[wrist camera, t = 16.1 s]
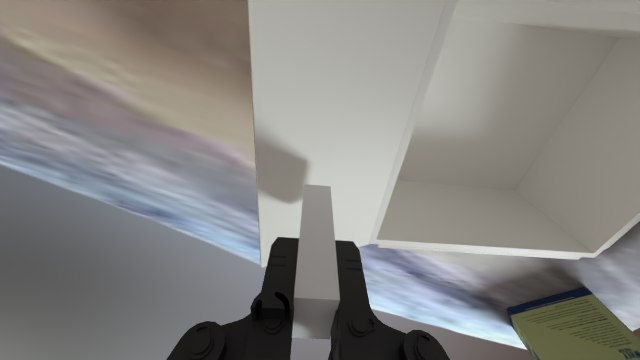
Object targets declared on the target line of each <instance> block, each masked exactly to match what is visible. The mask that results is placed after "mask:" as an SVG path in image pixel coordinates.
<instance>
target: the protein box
mask: <svg viewBox="0 0 640 360" xmlns="http://www.w3.org/2000/svg"><path fill="white" fill-rule="evenodd" d="M507 312H508V315H509V318H510V321H511V324H512V327H513V329H514V330H515V332H516V333H517V335H518V336H519V338H520V339H521V341H522V342H523V344H524V345H525V347H526V348H527V350H528V351H529V353H530V354H531V356H532V357H533V359H534V360H640V339H639V338H638V337H637V336H636V335H635V334H634V333H633V332H632V331H631V330H630V329H629V328H628V327H627V326H626V325H624V324H623V323H622V322H621V321H620V320H619V319H618V318H617V317H616V316H615V315H614V314H613V313H612V312H611V311H610V310H609V309H608V308H607V307H606V306H605V305H604V304H603V303H602V302H601V301H600V300H599V299H598V298H596V297H595V296H594V294H593V293H592V292H591V291H590V290H589V289H588V288H586V287H585V288H581V289H577V290H573V291H570V292H566V293H562V294H559V295H555V296H551V297H548V298H544V299H540V300H536V301H533V302H529V303H525V304H522V305H518V306H514V307H510V308H507Z"/></svg>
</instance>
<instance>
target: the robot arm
mask: <svg viewBox="0 0 640 360" xmlns="http://www.w3.org/2000/svg"><path fill="white" fill-rule="evenodd" d="M330 335H331V351H330V354H329V358H328V360H450V359H449V358H448V356H447V354H446V352H445V351H444V349H443V347H442V346H441V345H440V343H439V342H438V341H437V340H436V339H435V338H434V337H433V336H431V335H430V334H429V333H427V332H424V331H422V330H412V331H411V332H409V333H407V334H406V333H403V332H401V331H398V330H396V329H393V328H391V327H389V326H387V325H385V324H383V323H382V322H381V321H380V320H378V319H377V317H376V316H375V315H374V313H373V312H372V310H371V307H370V304H369V299H368V294H367V289H366V284H365V278H364V273H363V268H362V263H361V257H360V252H359V249H358V248H357V246H356V245H355V243H354V242H353V241H342V240H335V234H334V222H333V210H332V197H331V186H322V185H310V184H304V191H303V202H302V213H301V224H300V235H299V238H288V237H277V239H276V240H275V241H274V242H273V244H272V245H271V249H270V254H269V258H268V263H267V268H266V272H265V277H264V281H263V286H262V290H261V293H260V294H259V295H258V296H257V297H256V298H255V299H254V301H253V303H252V305H251V313H250V314H249V315H248V316H246V317H245V318H243V319H241V320H238V321H235V322H232V323H229V324H225V325H222V326H220V325H219V324H217V323H216V322H209V321H206V322H202V323H199V324H196V325H195V326H193V327H192V328H190V329H189V330H188V331H187V332H186V333H185V334H184V335H183V336H182V338H181V339H180V340H179V342H178V344H177V345H176V346H175V348H174V349H173V351H172V352H171V354H170V355H169V357H168V358H167V360H290V354H291V342H292V338H316V339H330Z"/></svg>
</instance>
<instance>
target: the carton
mask: <svg viewBox="0 0 640 360" xmlns="http://www.w3.org/2000/svg"><path fill="white" fill-rule="evenodd" d="M639 221H640V0H446V2H445V5H444V8H443V11H442V14H441V17H440V21H439V24H438V27H437V30H436V33H435V36H434V39H433V43H432V46H431V49H430V52H429V55H428V58H427V61H426V64H425V68H424V71H423V74H422V77H421V80H420V83H419V86H418V90H417V93H416V96H415V99H414V102H413V105H412V108H411V112H410V115H409V118H408V121H407V124H406V127H405V130H404V133H403V137H402V140H401V143H400V146H399V149H398V152H397V155H396V159H395V162H394V165H393V168H392V171H391V174H390V177H389V181H388V184H387V187H386V190H385V193H384V196H383V199H382V202H381V206H380V209H379V212H378V215H377V218H376V221H375V224H374V228H373V231H372V234H371V237H370V240H369V243H368V244H377V246H378V247H380V248H396V249H412V250H429V251H445V252H461V253H478V254H494V255H511V256H527V257H543V258H560V259H576V260H578V259H579V258H581V257H591V258H595V257H596V256H597V255H598V254H600V253H601V252H602V251H603V250H604V249H608V248H609V247H610V246H611V245H612V244H614V243H615V242H616V241H617V240H618V239H619V238H620V237H622V236H623V235H624V234H625V233H626V232H627V231H629V230H630V229H631V228H632V227H633V226H634V225H635V224H637V223H638V222H639Z"/></svg>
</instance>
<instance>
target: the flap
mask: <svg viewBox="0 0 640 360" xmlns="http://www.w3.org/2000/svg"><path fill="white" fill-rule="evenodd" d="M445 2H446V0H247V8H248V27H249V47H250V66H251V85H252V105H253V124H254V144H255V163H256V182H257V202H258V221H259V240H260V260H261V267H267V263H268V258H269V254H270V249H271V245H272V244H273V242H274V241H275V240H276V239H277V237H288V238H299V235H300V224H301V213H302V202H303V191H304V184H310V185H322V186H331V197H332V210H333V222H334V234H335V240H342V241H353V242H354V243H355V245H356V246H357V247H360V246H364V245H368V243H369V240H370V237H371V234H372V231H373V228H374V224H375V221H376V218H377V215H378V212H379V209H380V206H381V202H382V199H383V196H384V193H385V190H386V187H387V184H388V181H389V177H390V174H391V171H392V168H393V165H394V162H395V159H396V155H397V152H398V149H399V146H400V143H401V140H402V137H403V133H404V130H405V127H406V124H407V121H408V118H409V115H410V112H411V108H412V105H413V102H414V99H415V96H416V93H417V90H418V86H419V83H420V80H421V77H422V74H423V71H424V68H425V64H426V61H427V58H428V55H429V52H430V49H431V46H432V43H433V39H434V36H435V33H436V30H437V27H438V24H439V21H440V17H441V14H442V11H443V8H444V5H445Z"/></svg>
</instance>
